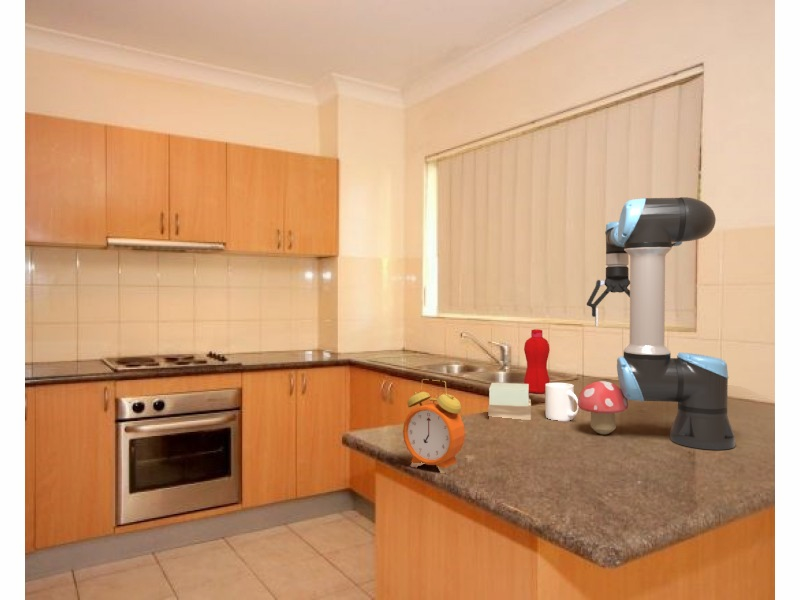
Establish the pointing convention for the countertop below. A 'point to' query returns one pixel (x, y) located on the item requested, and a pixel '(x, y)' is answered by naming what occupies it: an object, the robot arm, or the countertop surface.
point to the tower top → (509, 394)
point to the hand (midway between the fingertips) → (616, 326)
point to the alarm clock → (434, 429)
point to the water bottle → (536, 362)
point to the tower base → (510, 411)
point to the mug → (560, 401)
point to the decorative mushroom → (602, 405)
